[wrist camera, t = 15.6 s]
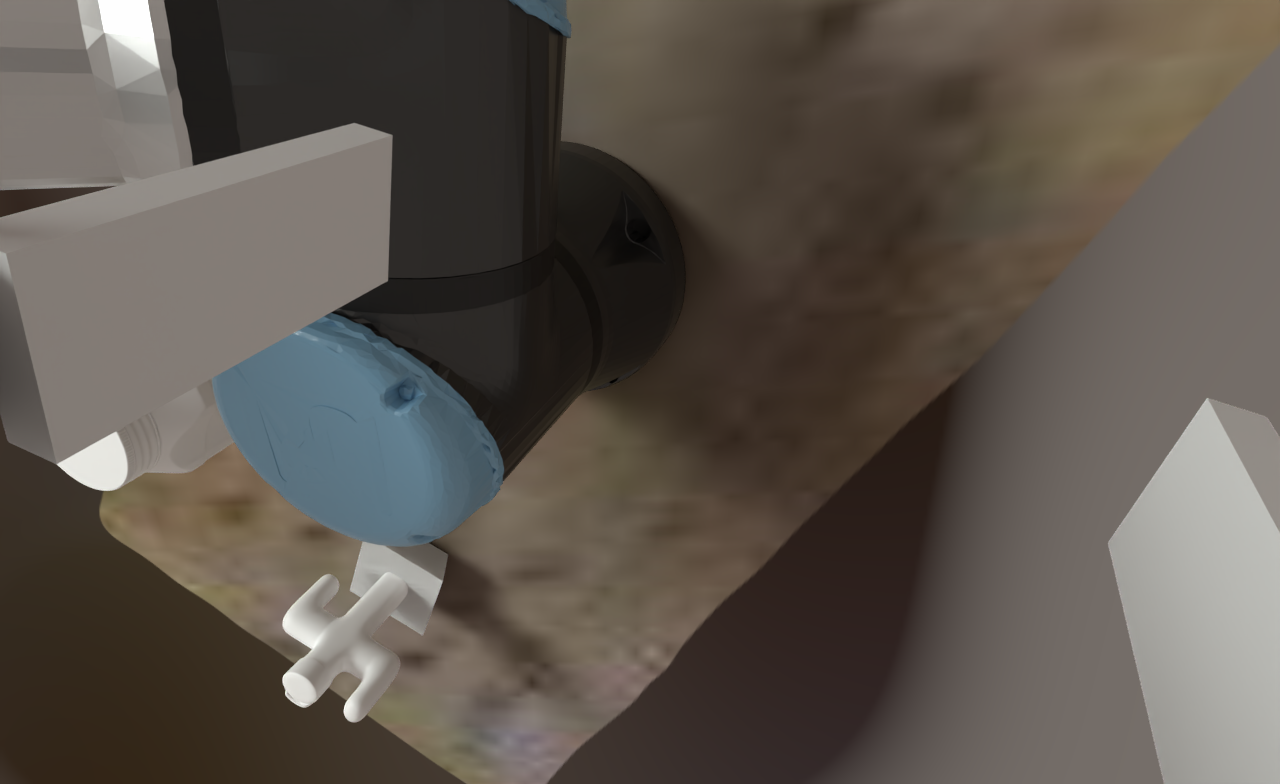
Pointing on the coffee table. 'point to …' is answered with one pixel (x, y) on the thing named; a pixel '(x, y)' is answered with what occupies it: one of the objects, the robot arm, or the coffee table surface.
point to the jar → (155, 443)
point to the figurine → (362, 623)
